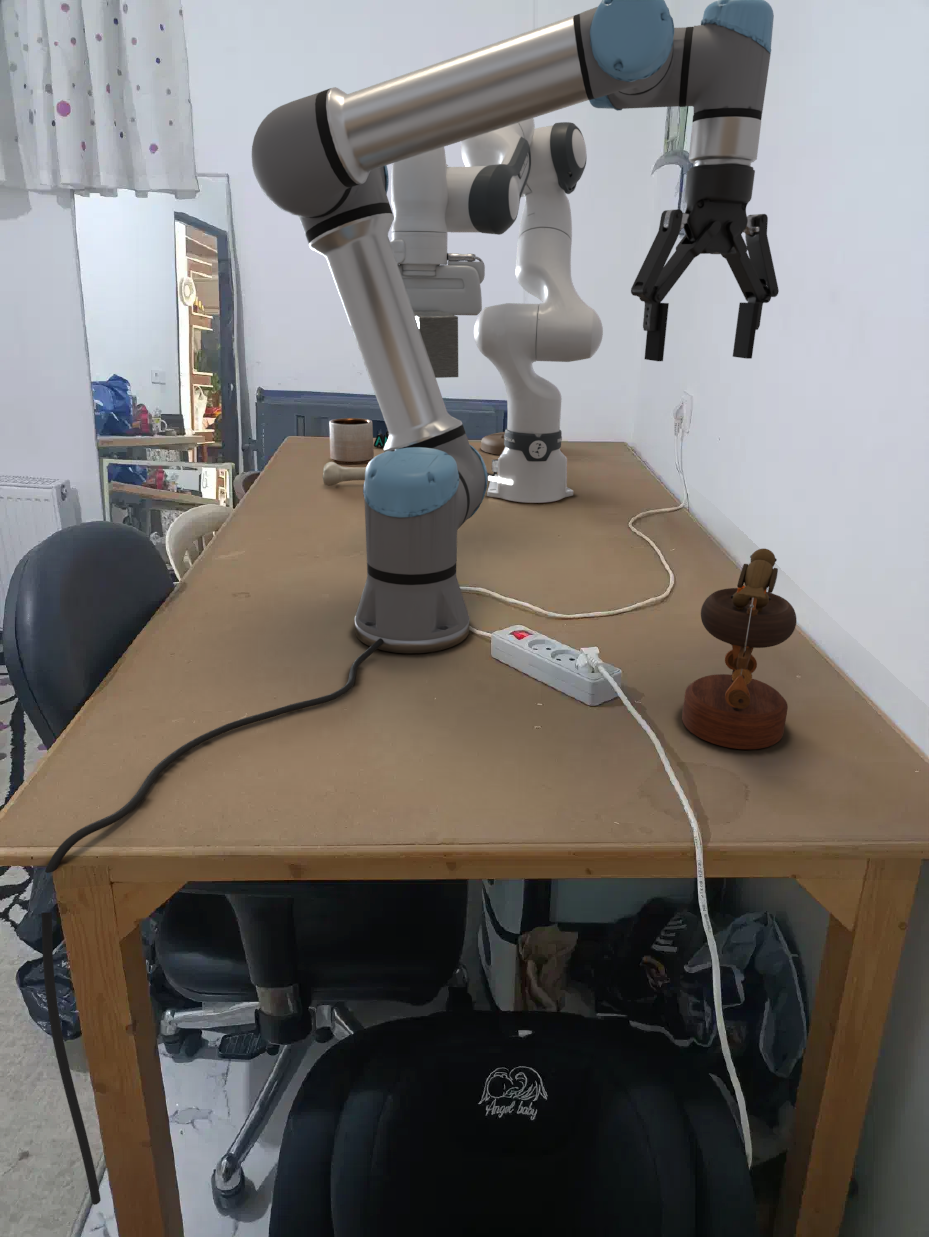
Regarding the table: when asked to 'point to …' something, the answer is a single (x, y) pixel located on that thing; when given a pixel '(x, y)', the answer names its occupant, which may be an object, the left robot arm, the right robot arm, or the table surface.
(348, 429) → the planter
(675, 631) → the table surface
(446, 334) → the bar
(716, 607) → the music box
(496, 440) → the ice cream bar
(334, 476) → the dog toy
